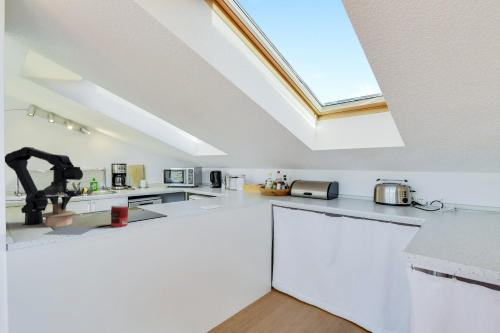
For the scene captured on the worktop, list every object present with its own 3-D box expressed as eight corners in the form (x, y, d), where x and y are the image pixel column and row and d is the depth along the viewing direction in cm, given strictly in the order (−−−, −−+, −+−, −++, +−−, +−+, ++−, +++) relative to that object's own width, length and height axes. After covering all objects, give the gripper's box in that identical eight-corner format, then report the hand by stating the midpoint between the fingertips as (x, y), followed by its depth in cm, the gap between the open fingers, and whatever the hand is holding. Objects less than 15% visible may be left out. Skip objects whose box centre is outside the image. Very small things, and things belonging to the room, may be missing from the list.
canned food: (128, 224, 138) (128, 203, 138) (126, 227, 130) (127, 205, 130) (112, 225, 135) (112, 204, 135) (109, 228, 127) (110, 206, 128)
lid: (34, 217, 125) (34, 205, 125) (54, 212, 139) (54, 201, 139) (64, 217, 126) (64, 206, 126) (81, 212, 140) (81, 202, 140)
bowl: (40, 227, 127) (41, 217, 127) (55, 222, 137) (55, 213, 137) (62, 227, 128) (63, 217, 128) (75, 222, 138) (76, 213, 138)
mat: (42, 235, 113) (42, 234, 113) (66, 226, 129) (66, 225, 129) (80, 235, 114) (80, 234, 114) (99, 227, 130) (99, 226, 130)
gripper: (28, 179, 124) (27, 212, 124) (69, 180, 125) (68, 212, 125) (45, 178, 135) (44, 208, 135) (82, 179, 136) (81, 209, 136)
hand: (59, 209), depth 133 cm, fingers open, 3 cm apart
